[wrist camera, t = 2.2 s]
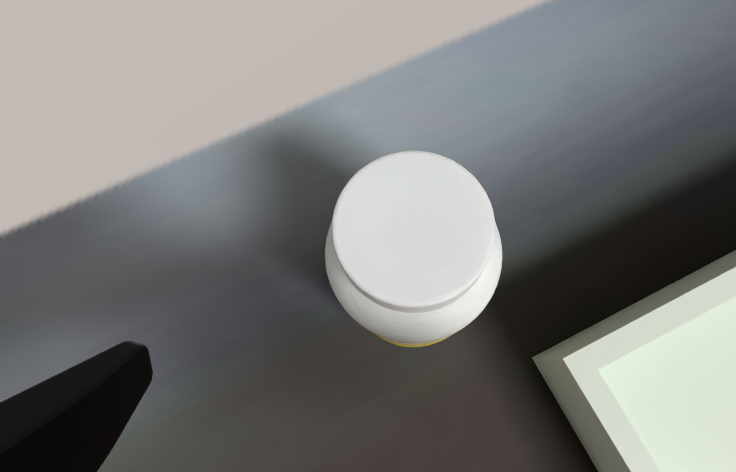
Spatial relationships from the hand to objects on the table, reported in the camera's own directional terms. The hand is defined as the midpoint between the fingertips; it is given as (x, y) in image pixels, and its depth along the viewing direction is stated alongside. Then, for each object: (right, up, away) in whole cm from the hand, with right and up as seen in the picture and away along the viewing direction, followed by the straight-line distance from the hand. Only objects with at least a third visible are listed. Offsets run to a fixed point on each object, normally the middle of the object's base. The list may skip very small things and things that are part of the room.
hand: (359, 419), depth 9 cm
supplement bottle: (+2, +1, +12) cm, 12 cm away
